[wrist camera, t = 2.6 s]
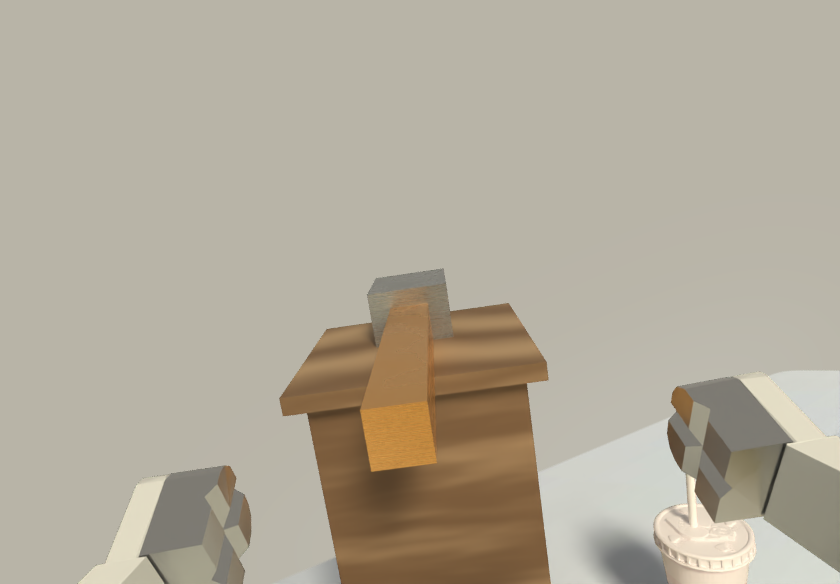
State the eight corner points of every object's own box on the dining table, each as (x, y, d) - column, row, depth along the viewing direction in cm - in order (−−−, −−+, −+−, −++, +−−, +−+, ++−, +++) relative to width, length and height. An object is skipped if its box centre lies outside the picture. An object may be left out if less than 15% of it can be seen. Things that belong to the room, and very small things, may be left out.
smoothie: (672, 602, 45) (661, 443, 43) (765, 631, 41) (759, 457, 39) (651, 662, 40) (636, 486, 38) (754, 701, 37) (746, 508, 34)
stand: (592, 771, 34) (546, 361, 29) (362, 795, 34) (279, 398, 29) (545, 600, 48) (508, 303, 43) (381, 620, 48) (326, 329, 43)
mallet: (472, 458, 20) (459, 366, 20) (336, 476, 20) (318, 385, 20) (450, 314, 42) (443, 268, 41) (383, 324, 42) (375, 278, 41)
